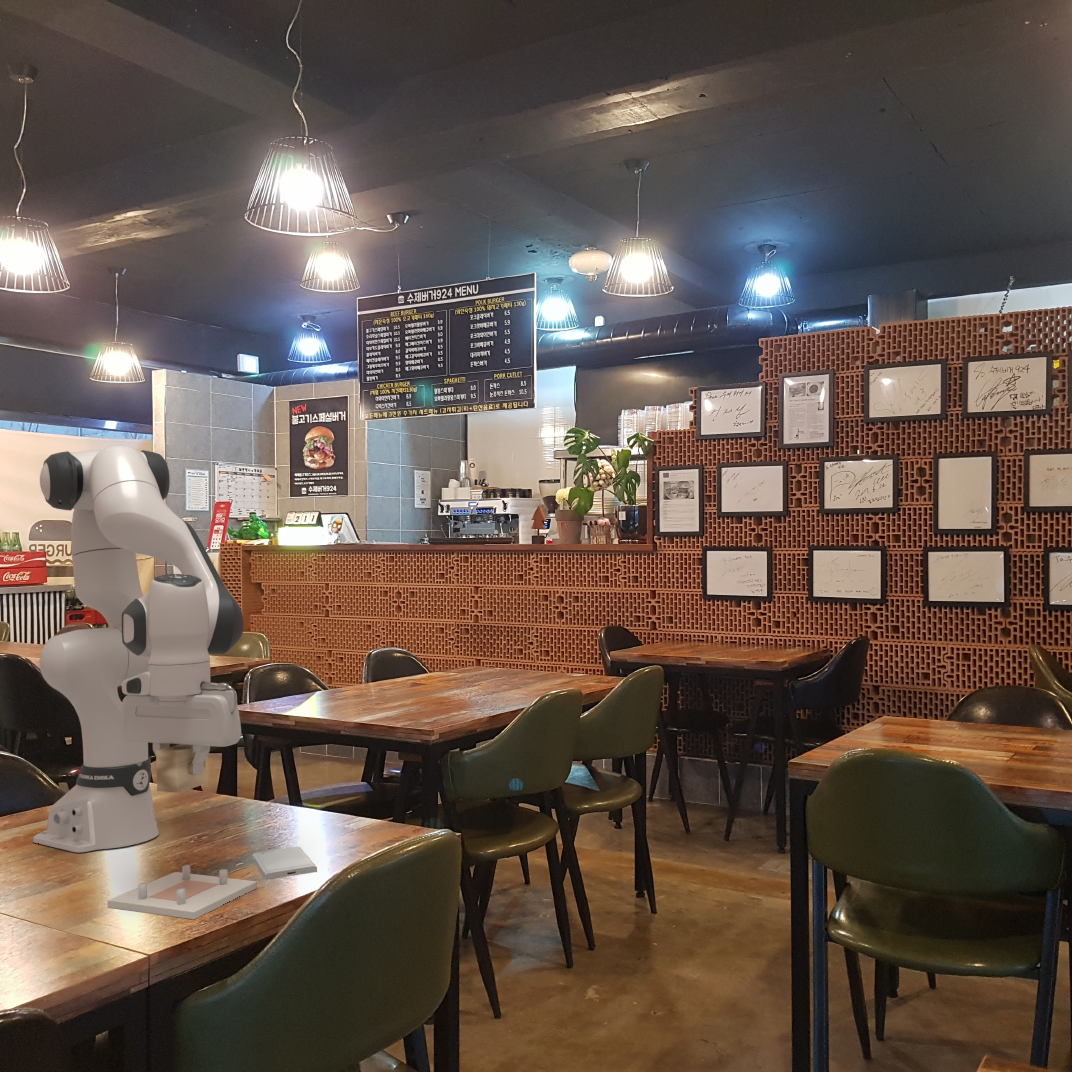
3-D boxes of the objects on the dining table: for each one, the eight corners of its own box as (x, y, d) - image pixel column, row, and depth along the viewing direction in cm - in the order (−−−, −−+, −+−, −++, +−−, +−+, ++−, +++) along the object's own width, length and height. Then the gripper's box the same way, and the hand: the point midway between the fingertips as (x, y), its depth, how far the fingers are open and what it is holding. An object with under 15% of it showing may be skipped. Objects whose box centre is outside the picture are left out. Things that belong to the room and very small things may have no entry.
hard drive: (251, 853, 169) (265, 872, 158) (300, 845, 173) (317, 864, 162) (252, 863, 169) (265, 883, 158) (300, 855, 173) (317, 874, 162)
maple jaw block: (156, 791, 149) (156, 750, 149) (185, 782, 154) (184, 743, 155) (178, 792, 147) (177, 751, 148) (205, 783, 153) (205, 744, 153)
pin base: (107, 907, 147) (107, 886, 147) (175, 878, 160) (174, 859, 160) (194, 919, 141) (193, 898, 141) (257, 888, 154) (256, 868, 154)
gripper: (249, 680, 150) (251, 772, 150) (143, 677, 158) (145, 765, 158) (221, 685, 145) (223, 781, 144) (113, 682, 152) (114, 773, 152)
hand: (181, 773), depth 151 cm, fingers closed on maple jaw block, 4 cm apart
